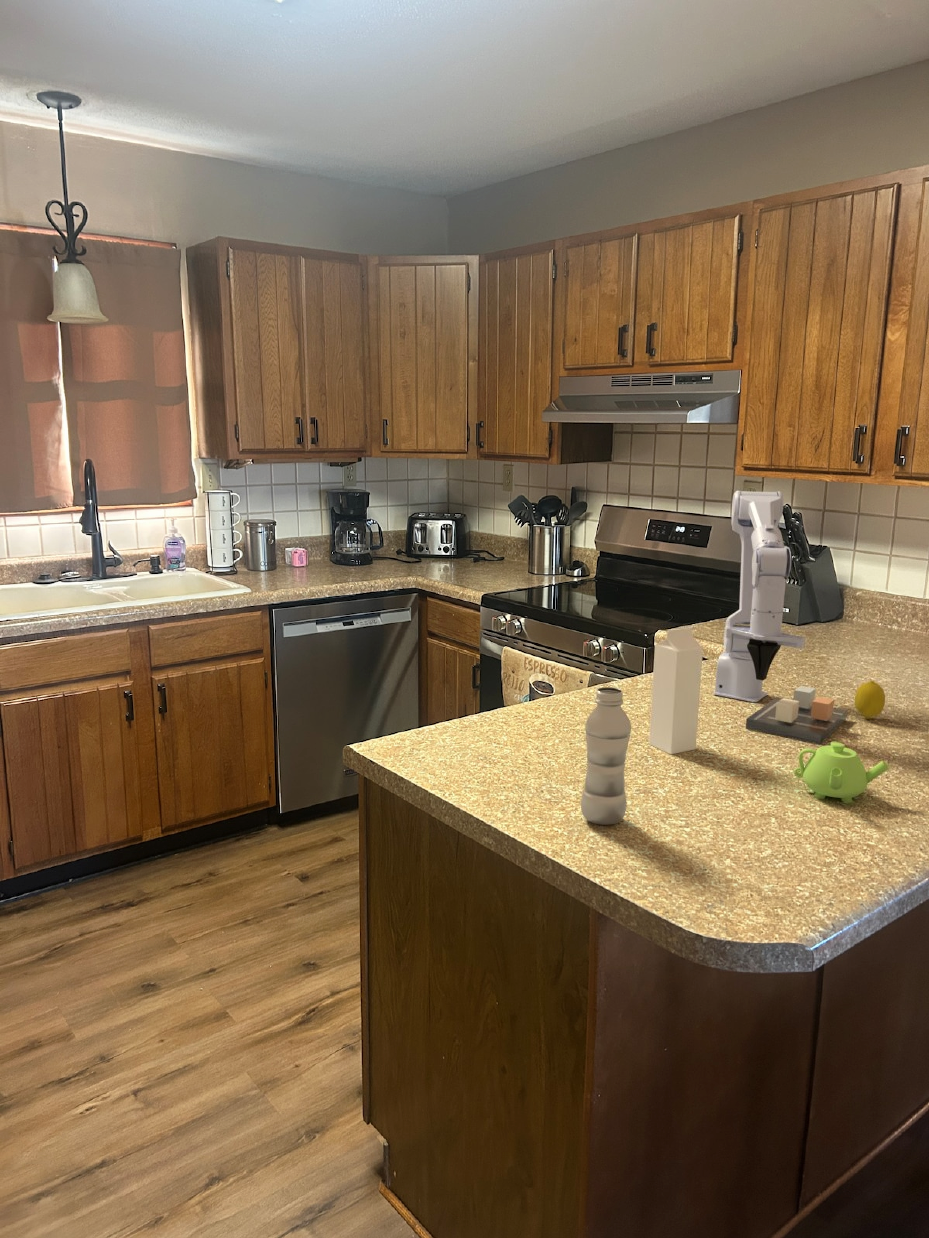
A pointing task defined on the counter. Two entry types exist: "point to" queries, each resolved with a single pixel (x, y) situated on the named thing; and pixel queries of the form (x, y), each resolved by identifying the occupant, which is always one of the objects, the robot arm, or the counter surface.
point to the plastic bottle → (606, 759)
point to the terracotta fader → (822, 708)
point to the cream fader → (787, 710)
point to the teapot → (836, 772)
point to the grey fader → (804, 696)
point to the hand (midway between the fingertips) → (761, 678)
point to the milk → (676, 692)
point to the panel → (795, 723)
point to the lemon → (869, 699)
